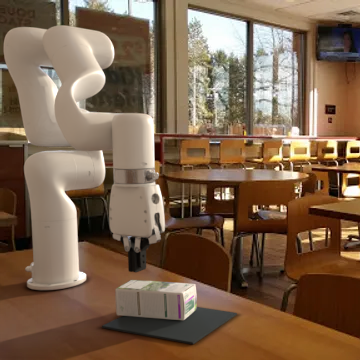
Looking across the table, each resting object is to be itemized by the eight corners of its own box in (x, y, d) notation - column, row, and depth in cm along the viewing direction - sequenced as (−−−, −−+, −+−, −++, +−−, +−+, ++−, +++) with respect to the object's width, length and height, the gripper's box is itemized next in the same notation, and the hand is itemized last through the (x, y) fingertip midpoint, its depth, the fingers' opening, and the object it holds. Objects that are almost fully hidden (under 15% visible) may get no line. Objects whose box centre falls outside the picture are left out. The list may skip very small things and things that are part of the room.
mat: (101, 327, 92) (101, 325, 92) (154, 302, 106) (154, 300, 106) (192, 344, 85) (192, 342, 85) (236, 314, 99) (236, 312, 99)
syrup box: (115, 316, 97) (184, 322, 94) (114, 287, 96) (183, 293, 93) (132, 305, 102) (197, 311, 100) (131, 277, 102) (196, 283, 99)
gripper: (178, 177, 96) (181, 269, 98) (118, 174, 102) (121, 262, 103) (153, 180, 89) (156, 279, 91) (89, 177, 95) (93, 271, 96)
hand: (137, 270), depth 97 cm, fingers closed
